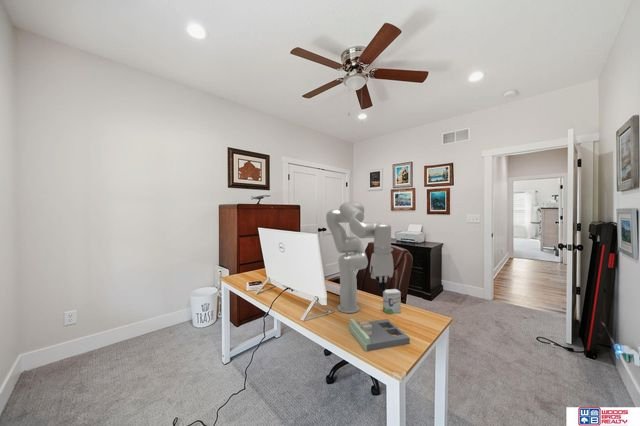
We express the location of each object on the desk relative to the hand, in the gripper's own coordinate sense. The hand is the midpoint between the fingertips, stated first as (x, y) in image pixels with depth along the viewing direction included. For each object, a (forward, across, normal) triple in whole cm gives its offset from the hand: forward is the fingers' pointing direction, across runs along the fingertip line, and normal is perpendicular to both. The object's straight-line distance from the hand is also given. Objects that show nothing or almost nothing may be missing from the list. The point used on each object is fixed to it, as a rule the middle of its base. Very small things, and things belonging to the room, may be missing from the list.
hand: (381, 290), depth 109 cm
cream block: (+18, +9, +3) cm, 20 cm away
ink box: (+21, -17, -19) cm, 33 cm away
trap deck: (+20, +3, +2) cm, 20 cm away
